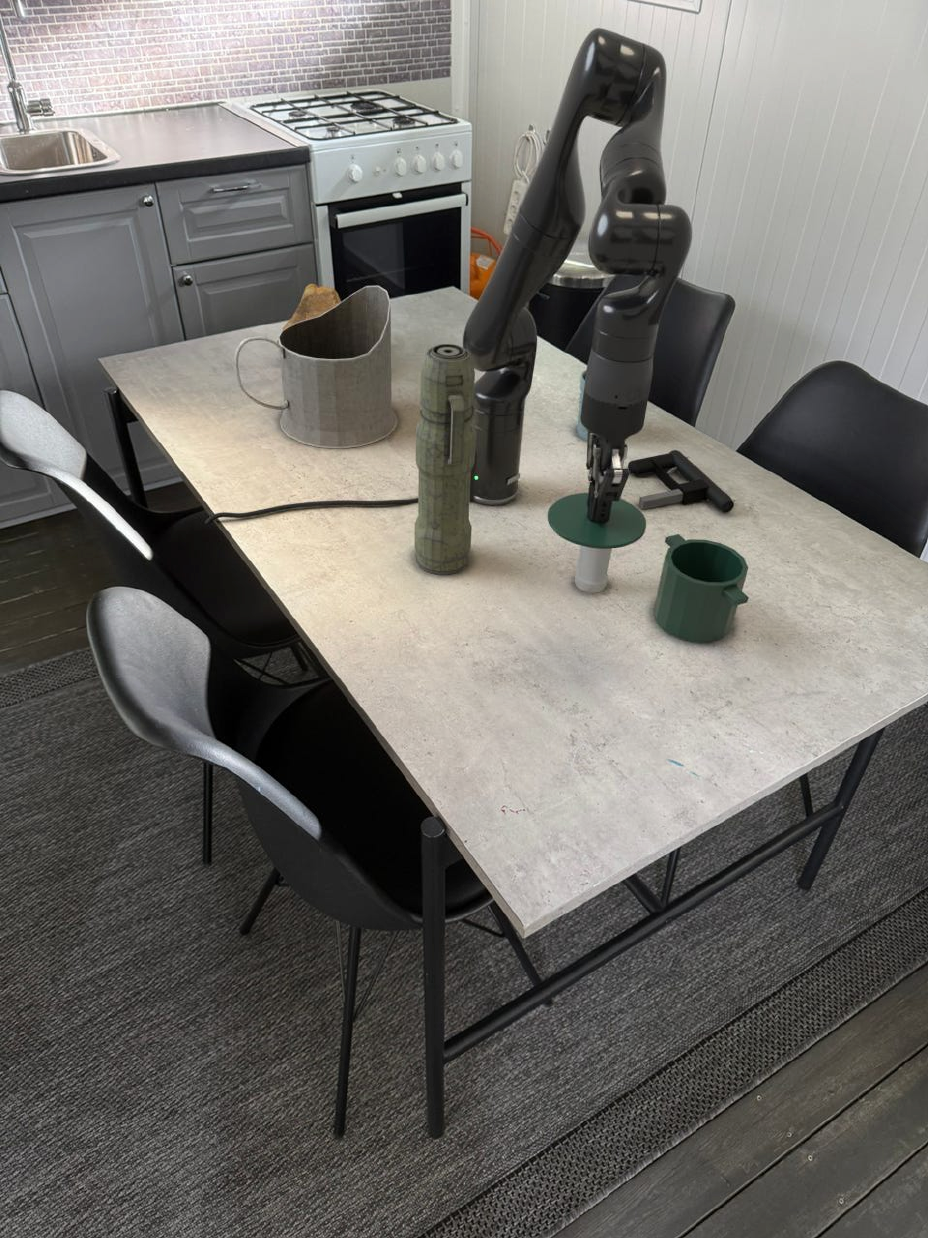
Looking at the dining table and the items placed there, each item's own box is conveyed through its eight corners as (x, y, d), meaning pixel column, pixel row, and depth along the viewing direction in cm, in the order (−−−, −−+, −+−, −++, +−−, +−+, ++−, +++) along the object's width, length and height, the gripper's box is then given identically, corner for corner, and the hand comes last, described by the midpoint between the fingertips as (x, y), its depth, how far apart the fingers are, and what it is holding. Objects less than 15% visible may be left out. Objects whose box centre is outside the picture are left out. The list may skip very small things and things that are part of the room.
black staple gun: (661, 515, 156) (742, 497, 160) (608, 460, 170) (683, 444, 174) (658, 531, 158) (739, 512, 162) (606, 475, 172) (681, 460, 176)
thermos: (431, 585, 141) (435, 371, 119) (403, 545, 149) (402, 338, 128) (482, 573, 144) (496, 362, 122) (452, 535, 153) (460, 331, 131)
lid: (577, 561, 111) (583, 519, 107) (530, 510, 120) (534, 469, 116) (664, 541, 115) (673, 499, 111) (612, 492, 124) (618, 452, 120)
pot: (693, 662, 129) (708, 604, 123) (629, 595, 141) (640, 538, 135) (758, 643, 133) (777, 585, 127) (691, 579, 145) (704, 523, 139)
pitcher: (417, 431, 181) (418, 307, 165) (268, 469, 167) (254, 336, 152) (363, 387, 196) (360, 269, 180) (222, 418, 182) (205, 293, 167)
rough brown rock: (270, 351, 211) (258, 288, 201) (338, 337, 216) (331, 274, 206) (297, 396, 195) (286, 329, 185) (370, 379, 200) (363, 314, 190)
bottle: (611, 579, 144) (635, 437, 129) (600, 597, 141) (625, 452, 125) (580, 571, 146) (601, 429, 130) (569, 588, 142) (589, 444, 127)
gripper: (574, 362, 111) (559, 486, 121) (596, 414, 100) (577, 545, 111) (635, 363, 111) (615, 486, 122) (663, 414, 100) (638, 545, 111)
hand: (597, 514), depth 116 cm, fingers closed on lid, 2 cm apart
